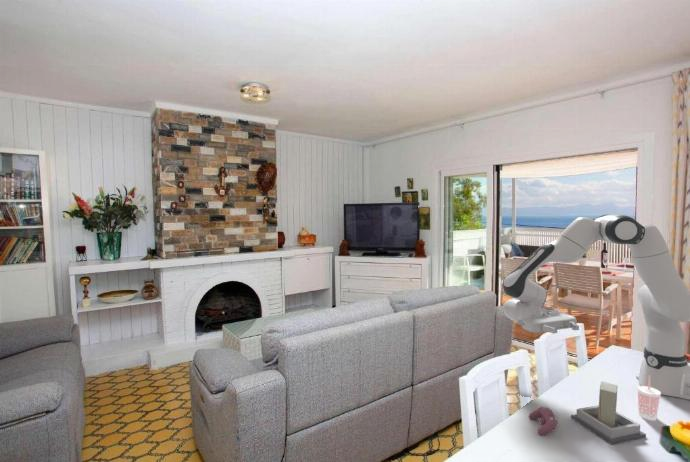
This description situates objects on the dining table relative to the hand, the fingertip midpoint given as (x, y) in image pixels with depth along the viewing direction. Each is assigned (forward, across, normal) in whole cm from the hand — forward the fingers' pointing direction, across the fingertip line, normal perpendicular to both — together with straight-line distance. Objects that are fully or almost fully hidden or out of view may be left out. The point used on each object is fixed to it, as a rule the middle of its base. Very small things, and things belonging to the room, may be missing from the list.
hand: (566, 329), depth 129 cm
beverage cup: (+15, +18, +27) cm, 35 cm away
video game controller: (+11, -20, +26) cm, 34 cm away
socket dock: (+16, -1, +26) cm, 31 cm away
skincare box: (+16, 0, +25) cm, 30 cm away
